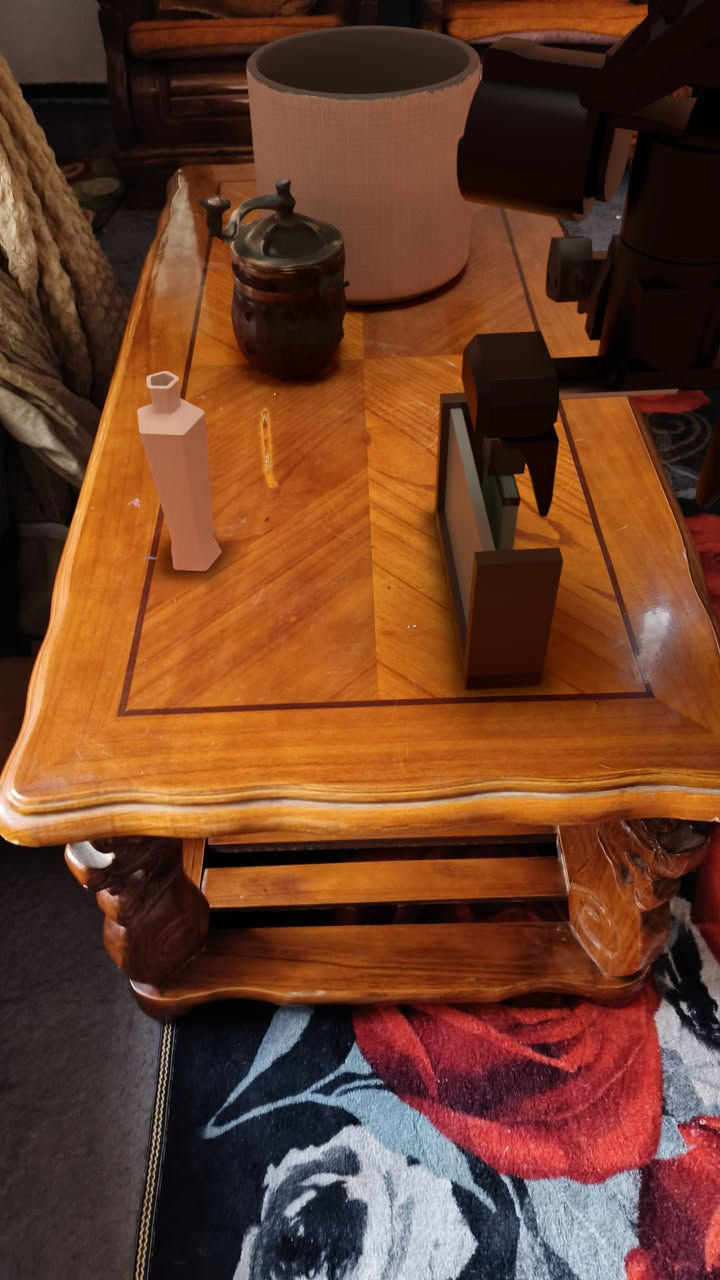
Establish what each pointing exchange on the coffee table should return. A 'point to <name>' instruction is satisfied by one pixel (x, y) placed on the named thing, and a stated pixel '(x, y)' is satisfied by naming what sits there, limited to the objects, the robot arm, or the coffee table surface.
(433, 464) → the coffee table surface
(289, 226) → the coffee grinder
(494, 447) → the pane
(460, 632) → the window frame
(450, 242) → the planter
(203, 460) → the perfume bottle
